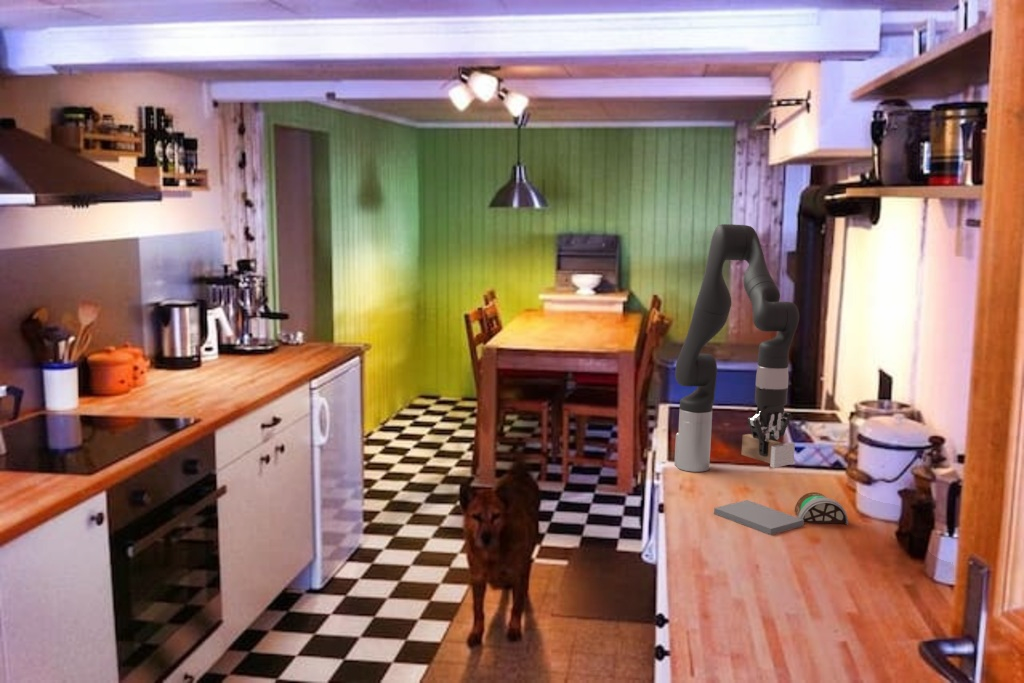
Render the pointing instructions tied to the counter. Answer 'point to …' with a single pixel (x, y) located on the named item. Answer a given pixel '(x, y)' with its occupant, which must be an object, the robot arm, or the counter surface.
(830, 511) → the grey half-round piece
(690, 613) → the counter surface
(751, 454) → the brown and grey block
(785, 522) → the grey cutting board
